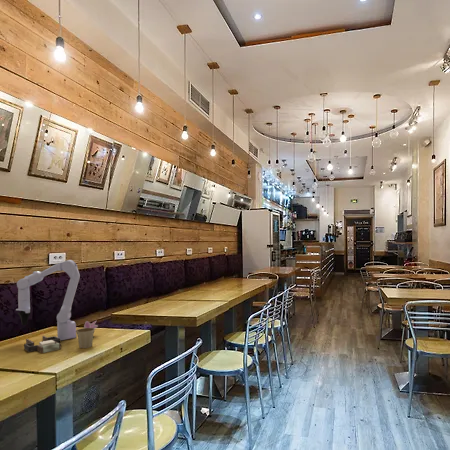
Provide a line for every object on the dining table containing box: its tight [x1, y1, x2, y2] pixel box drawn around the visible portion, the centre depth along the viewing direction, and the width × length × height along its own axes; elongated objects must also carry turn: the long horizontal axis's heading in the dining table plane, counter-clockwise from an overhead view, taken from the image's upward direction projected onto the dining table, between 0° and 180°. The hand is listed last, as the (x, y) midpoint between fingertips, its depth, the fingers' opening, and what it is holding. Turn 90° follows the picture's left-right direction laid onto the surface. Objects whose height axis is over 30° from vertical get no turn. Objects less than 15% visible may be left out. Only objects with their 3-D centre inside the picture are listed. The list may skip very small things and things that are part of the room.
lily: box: [83, 320, 99, 339], centre depth 216 cm, size 12×12×10 cm
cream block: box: [38, 340, 55, 347], centre depth 193 cm, size 6×6×4 cm
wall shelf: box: [23, 335, 62, 354], centre depth 200 cm, size 17×27×3 cm, turn 42°
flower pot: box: [76, 327, 96, 349], centre depth 196 cm, size 9×9×9 cm
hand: (24, 324), depth 211 cm, fingers closed
